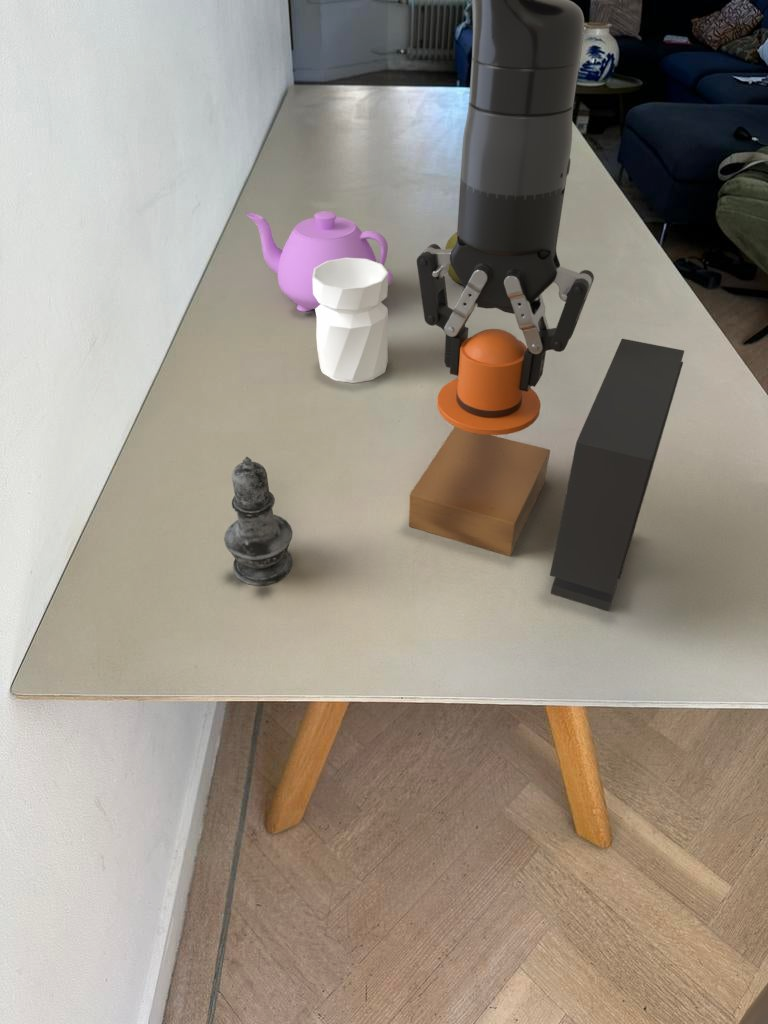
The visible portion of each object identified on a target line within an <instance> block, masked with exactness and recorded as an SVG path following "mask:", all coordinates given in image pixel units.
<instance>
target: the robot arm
mask: <svg viewBox="0 0 768 1024" xmlns="http://www.w3.org/2000/svg"><path fill="white" fill-rule="evenodd" d="M471 11H472V12H471V16H472V46H471V47H472V50H471V65H470V66H471V67H470V82H469V99H468V101H469V102H468V106H467V108H468V109H467V115H466V120H465V125H464V131H463V137H462V146H461V148H462V149H461V162H460V164H461V165H460V178H459V198H458V212H457V229H456V232H457V242H456V244H455V246H454V248H453V249H445V248H441V246H440V245H438V244H436V243H432V244H430V245H428V247H426V249H425V250H423V252H421V253H420V254H419V255H418V256H417V258H416V267H417V274H418V282H419V289H420V295H421V303H422V310H423V312H422V313H423V318H424V322H425V323H426V325H428V326H432V327H433V326H437V327H438V328H439V329H442V330H443V332H444V334H445V341H444V342H445V343H444V364H445V367H446V368H449V374H450V375H453V376H457V377H458V373H459V359H460V347H461V344H462V343H463V342H464V341H465V340H466V339H468V338H469V327H467V326H466V324H467V322H468V321H469V319H470V317H471V315H472V314H473V312H474V310H475V309H476V307H477V308H481V309H497V310H500V311H502V312H504V313H506V314H507V313H508V314H513V315H514V316H515V320H516V322H517V323H516V324H517V326H518V329H519V330H521V331H522V334H523V336H524V340H525V345H526V347H527V349H526V351H525V352H524V359H523V366H522V374H521V381H520V390H522V391H527V392H528V391H529V389H530V388H531V387H535V388H536V386H537V384H538V383H539V382H540V379H541V378H542V376H543V374H544V368H545V361H546V356H547V355H546V354H547V351H554V352H557V353H560V352H563V351H564V350H566V348H567V345H568V343H569V341H570V339H571V338H572V337H573V335H574V333H575V329H576V327H577V325H578V321H579V319H580V317H581V314H582V312H583V309H584V306H585V303H586V301H587V299H588V296H589V293H590V291H591V289H592V286H593V283H594V280H595V276H594V275H595V274H594V273H593V272H592V271H590V270H589V269H583V270H581V271H580V272H577V271H574V270H571V269H568V268H566V267H563V266H561V263H560V260H559V258H558V254H557V253H558V252H557V245H558V237H559V233H560V226H561V225H560V224H561V219H562V218H561V217H562V212H563V211H562V210H563V204H564V197H565V191H566V185H567V177H568V175H569V173H570V170H571V152H572V151H571V150H572V142H573V141H572V140H573V113H574V104H575V98H576V91H577V85H578V84H577V83H578V77H579V71H580V63H581V57H582V51H583V43H584V36H585V17H584V13H583V10H582V9H581V7H580V6H579V5H578V4H576V3H575V2H574V1H572V0H471ZM450 264H451V266H452V267H453V269H454V271H455V273H456V274H457V276H458V278H459V280H460V281H461V283H462V284H461V285H462V286H463V288H464V290H463V292H462V293H461V295H460V297H459V299H458V300H457V303H456V304H455V306H454V307H453V308H451V307H450V306H449V303H448V294H447V285H446V277H445V275H447V274H448V270H449V265H450ZM553 283H554V284H556V285H557V286H558V297H559V299H560V300H561V301H563V302H564V306H563V308H562V311H561V313H560V317H559V319H558V322H557V324H556V327H554V328H553V327H551V328H549V327H550V326H549V324H548V321H547V316H546V306H545V302H544V298H543V295H542V294H543V293H544V292H545V291H546V290H547V289H548V288H549V287H550V286H551V285H552V284H553ZM531 389H532V388H531ZM738 1024H768V982H767V983H766V984H765V985H764V987H763V988H762V989H761V991H760V992H759V993H758V995H757V996H756V997H755V998H754V1000H753V1001H752V1002H751V1004H750V1005H749V1006H748V1008H747V1009H746V1010H745V1012H744V1014H743V1016H742V1017H741V1019H740V1020H739V1021H738Z"/></svg>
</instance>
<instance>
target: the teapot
mask: <svg viewBox="0 0 768 1024" xmlns="http://www.w3.org/2000/svg"><path fill="white" fill-rule="evenodd" d="M245 215H246V216H247V217H248V218H249V219H250V220H251V221H252V222H254V224H255V225H256V227H257V229H258V231H259V237H260V242H261V243H260V244H261V251H262V255H263V259H264V261H265V263H266V265H267V267H268V268H269V269H270V270H271V271H272V272H273V273H275V274H276V275H277V284H278V286H279V288H280V290H281V292H282V293H283V294H284V295H285V296H286V297H287V298H288V299H290V300H291V302H293V303H294V304H296V305H297V306H296V309H297V310H298V311H299V312H310V311H313V310H315V309H316V308H317V307H318V306H319V305H320V303H319V302H318V301H317V299H316V298H315V296H314V295H313V281H312V277H313V271H314V268H315V267H317V266H319V265H321V264H322V263H324V262H326V261H330V260H335V259H341V258H363V259H368V260H371V261H374V262H377V263H380V264H382V265H383V266H384V267H385V263H386V261H387V257H388V249H389V247H388V242H387V239H386V238H385V236H384V235H382V234H381V233H379V232H377V231H374V230H364V231H362V230H361V229H360V228H359V227H358V225H357V224H356V223H355V222H353V221H352V220H350V219H348V218H344V217H339V216H337V214H336V213H335V212H333V211H329V210H322V211H321V210H320V211H318V212H316V213H315V214H314V217H311V218H307V219H304V220H302V221H300V222H299V223H297V224H296V225H295V226H294V228H293V229H292V231H291V232H290V235H289V237H288V238H287V240H286V242H285V244H284V247H283V249H281V248H280V247H279V246H277V244H276V243H275V240H274V237H273V233H272V229H271V226H270V223H269V222H268V221H267V220H266V218H264V217H263V216H262V215H260V214H256V213H253V212H247V211H246V212H245ZM368 239H369V240H374V241H376V242H377V243H378V244H379V246H380V253H379V259H378V261H377V258H376V256H375V253H374V251H373V248H372V246H371V245H370V242H369V241H368ZM385 269H386V268H385ZM386 271H387V272H388V286H389V285H391V284H392V283H393V279H394V278H393V273H392V272H391V271H390V270H389V269H386Z"/></svg>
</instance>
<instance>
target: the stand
mask: <svg viewBox="0 0 768 1024" xmlns="http://www.w3.org/2000/svg"><path fill="white" fill-rule="evenodd" d="M550 454H551V449H549V448H545V447H541V446H537V445H533V444H529V443H525V442H521V441H516V440H512V439H508V438H504V437H500V436H497V435H482V434H476V433H471V432H468V431H464V430H462V429H459V428H457V427H455V426H453V428H452V430H451V432H450V433H449V435H448V436H447V437H446V439H445V441H444V442H443V443H442V444H441V447H440V448H439V450H438V451H437V453H435V455H434V457H433V458H432V460H431V461H430V462H429V464H428V466H427V468H426V469H425V470H424V472H423V473H422V474H421V477H420V478H419V480H418V481H417V482H416V484H415V485H414V487H413V489H412V490H411V492H410V493H409V511H408V514H409V515H408V527H409V528H413V529H416V530H419V531H423V532H426V533H429V534H433V535H437V536H440V537H443V538H447V539H450V540H453V541H457V542H460V543H464V544H466V545H471V546H474V547H477V548H481V549H483V550H487V551H491V552H494V553H498V554H501V555H504V556H508V557H511V555H512V553H513V552H514V549H515V547H516V545H517V543H518V540H519V538H520V536H521V534H522V532H523V530H524V527H525V526H526V524H527V521H528V519H529V516H530V514H531V512H532V510H533V508H534V506H535V504H536V501H537V500H538V497H539V495H540V494H541V491H542V488H543V486H544V485H545V482H546V478H547V472H548V466H549V460H550Z"/></svg>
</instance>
